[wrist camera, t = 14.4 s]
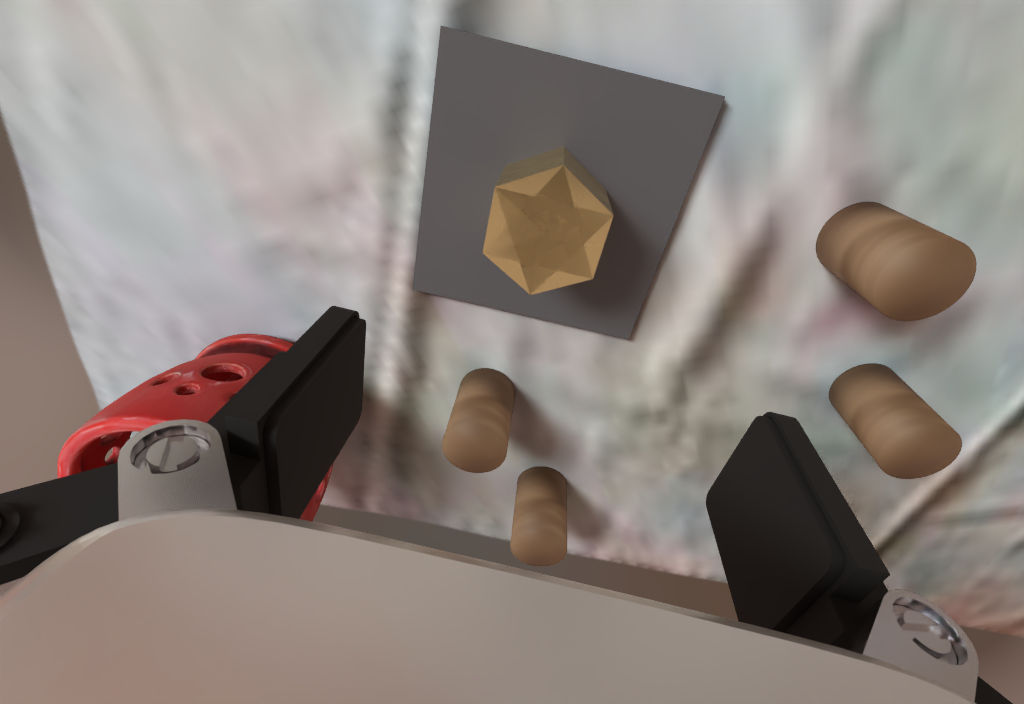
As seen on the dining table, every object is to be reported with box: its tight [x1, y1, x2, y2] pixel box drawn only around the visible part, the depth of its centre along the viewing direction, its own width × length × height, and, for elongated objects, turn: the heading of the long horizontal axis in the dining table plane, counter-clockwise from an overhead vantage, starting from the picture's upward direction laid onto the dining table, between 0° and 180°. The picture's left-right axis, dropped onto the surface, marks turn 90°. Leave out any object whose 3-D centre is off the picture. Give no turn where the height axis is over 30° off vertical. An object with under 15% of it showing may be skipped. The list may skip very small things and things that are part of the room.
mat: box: [413, 26, 725, 339], centre depth 27 cm, size 14×14×1 cm
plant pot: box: [58, 334, 333, 521], centre depth 31 cm, size 13×13×12 cm
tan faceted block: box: [483, 146, 614, 295], centre depth 25 cm, size 6×6×5 cm
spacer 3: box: [816, 202, 976, 321], centre depth 24 cm, size 4×4×6 cm
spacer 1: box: [442, 368, 515, 473], centre depth 32 cm, size 4×4×6 cm
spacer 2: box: [510, 467, 567, 566], centre depth 37 cm, size 4×4×6 cm
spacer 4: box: [829, 364, 962, 479], centre depth 29 cm, size 4×4×6 cm
